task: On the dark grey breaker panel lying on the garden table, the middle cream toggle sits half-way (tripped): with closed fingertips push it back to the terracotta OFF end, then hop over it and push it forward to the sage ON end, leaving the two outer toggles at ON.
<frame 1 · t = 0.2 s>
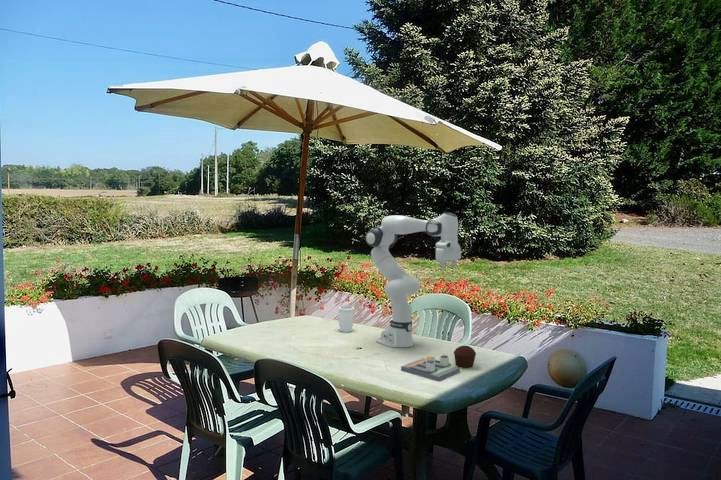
hand: (448, 269, 282), 48 cm above the table, tool pointing down, fingers open, 8 cm apart
panel: (430, 370, 260), on the table
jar: (345, 330, 337), on the table
breaker mid: (430, 361, 260), point 5 cm above the table, slide at 0.0 cm
muffin: (464, 366, 269), on the table
breaker 2: (444, 360, 261), point 5 cm above the table, slide at 4.0 cm
breaker 1: (430, 365, 253), point 5 cm above the table, slide at 4.0 cm
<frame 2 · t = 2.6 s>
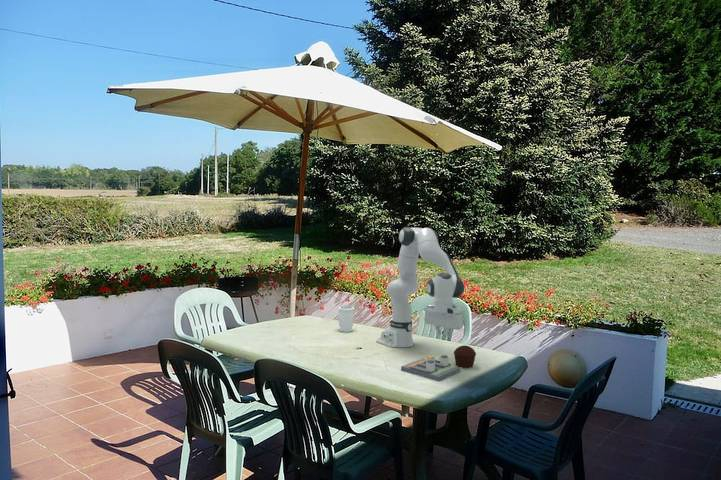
hand: (442, 335, 254), 19 cm above the table, tool pointing down, fingers open, 3 cm apart
nothing on the table moved.
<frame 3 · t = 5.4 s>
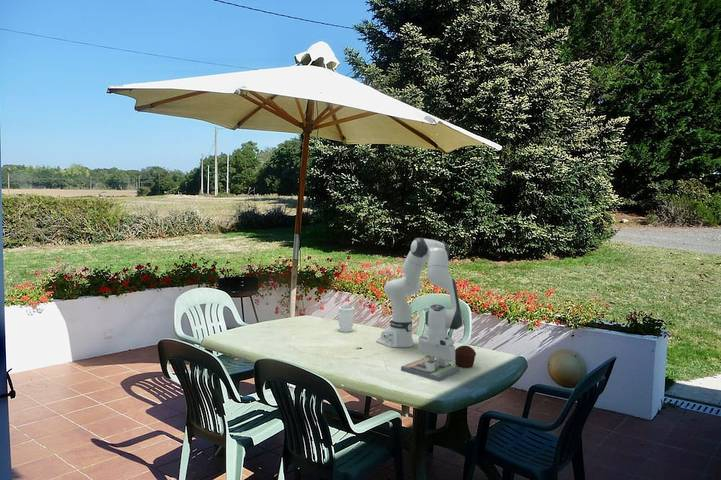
hand: (435, 366, 258), 3 cm above the table, tool pointing down, fingers closed
breaker mid: (428, 360, 261), point 5 cm above the table, slide at -1.3 cm, touching gripper
everything else where it was.
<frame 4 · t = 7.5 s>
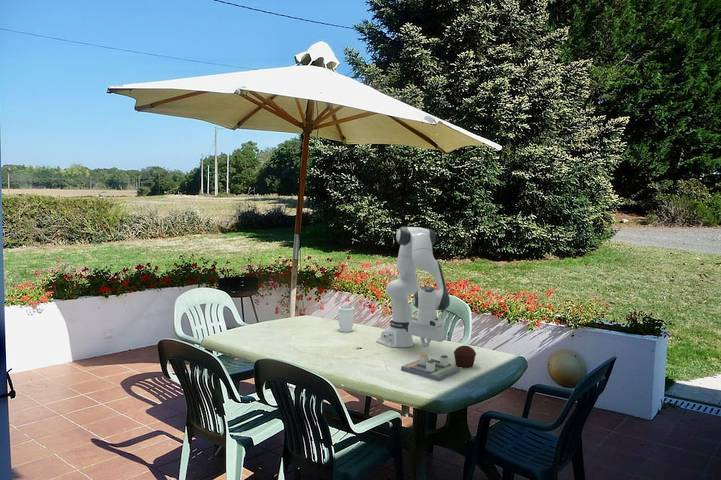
hand: (425, 346, 261), 12 cm above the table, tool pointing down, fingers closed
breaker mid: (424, 359, 262), point 5 cm above the table, slide at -4.0 cm
everything else where it was.
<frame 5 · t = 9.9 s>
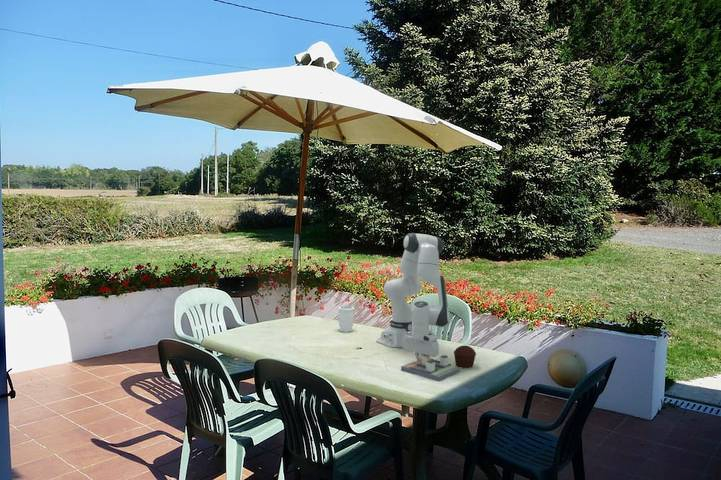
hand: (419, 361, 264), 3 cm above the table, tool pointing down, fingers closed
breaker mid: (426, 360, 262), point 5 cm above the table, slide at -2.7 cm, touching gripper
everything else where it was.
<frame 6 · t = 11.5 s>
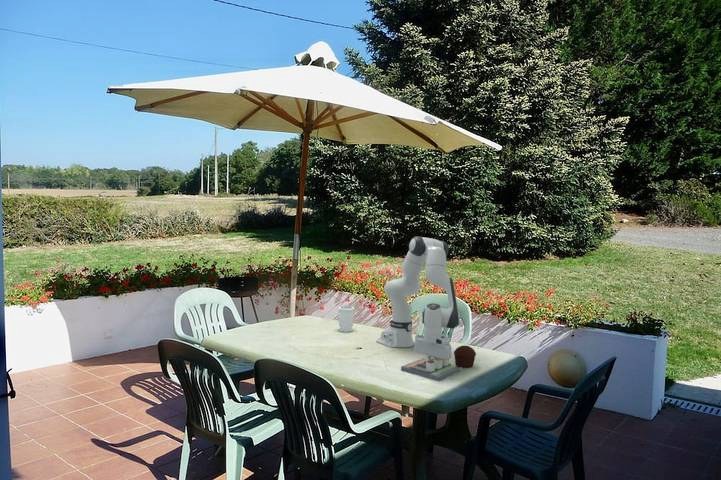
hand: (431, 364, 259), 3 cm above the table, tool pointing down, fingers closed
breaker mid: (437, 363, 257), point 5 cm above the table, slide at 4.2 cm, touching gripper
everything else where it was.
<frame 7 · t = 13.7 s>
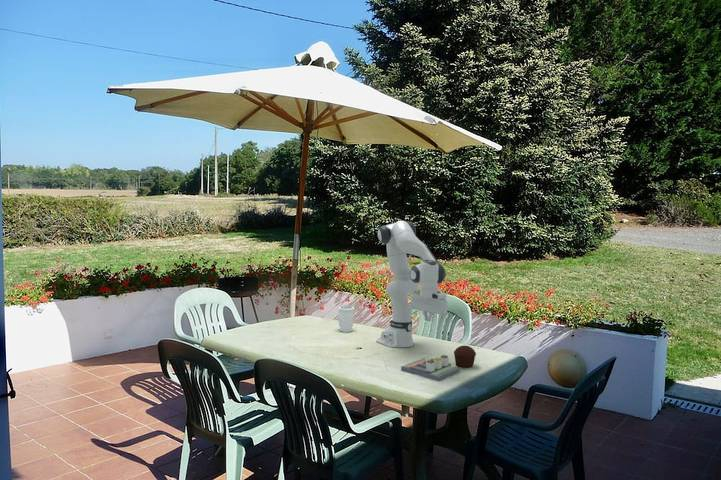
hand: (427, 320, 260), 25 cm above the table, tool pointing down, fingers closed
breaker mid: (437, 363, 257), point 5 cm above the table, slide at 4.0 cm
everything else where it was.
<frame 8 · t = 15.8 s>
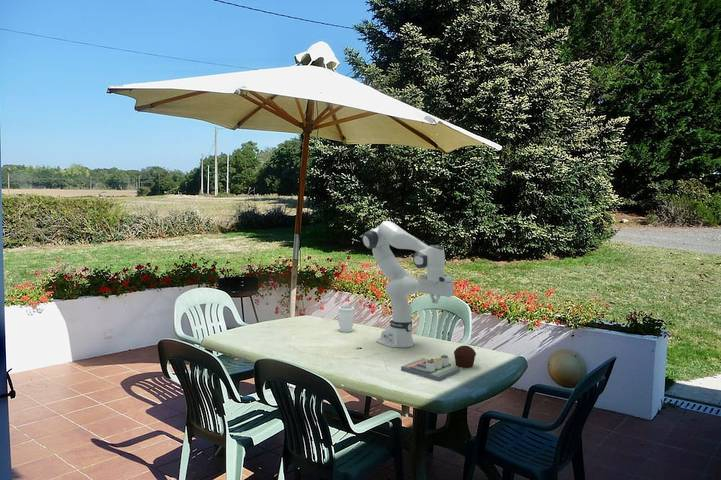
hand: (435, 303, 273), 31 cm above the table, tool pointing down, fingers closed
nothing on the table moved.
at the end: breaker mid slide at 4.0 cm; breaker 2 slide at 4.0 cm; breaker 1 slide at 4.0 cm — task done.
